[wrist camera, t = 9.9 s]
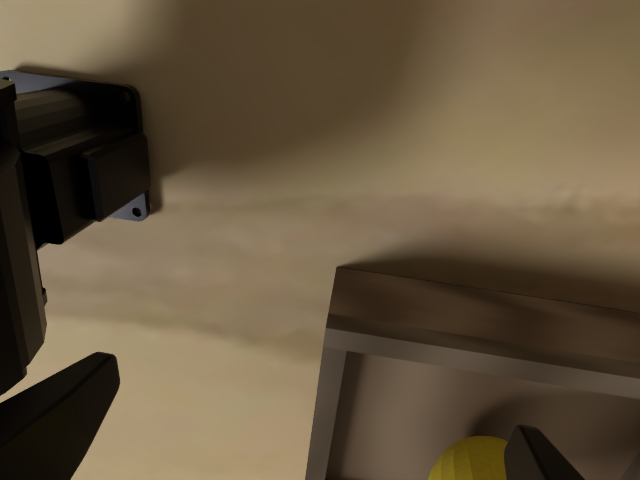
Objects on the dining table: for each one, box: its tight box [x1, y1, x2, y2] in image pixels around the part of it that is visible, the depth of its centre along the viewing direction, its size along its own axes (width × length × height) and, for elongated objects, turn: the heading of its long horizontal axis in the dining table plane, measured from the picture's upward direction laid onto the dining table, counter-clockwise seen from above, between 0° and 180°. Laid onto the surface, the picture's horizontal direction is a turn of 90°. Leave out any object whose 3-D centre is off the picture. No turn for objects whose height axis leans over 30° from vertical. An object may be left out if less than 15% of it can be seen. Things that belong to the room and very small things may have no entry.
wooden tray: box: [305, 267, 640, 480], centre depth 22 cm, size 16×12×5 cm
